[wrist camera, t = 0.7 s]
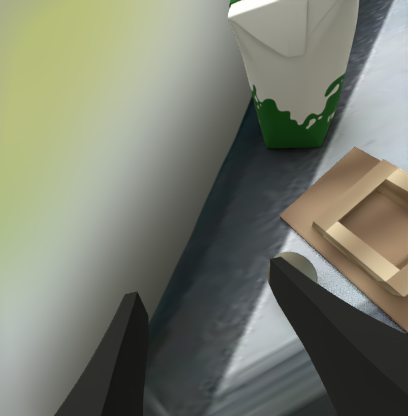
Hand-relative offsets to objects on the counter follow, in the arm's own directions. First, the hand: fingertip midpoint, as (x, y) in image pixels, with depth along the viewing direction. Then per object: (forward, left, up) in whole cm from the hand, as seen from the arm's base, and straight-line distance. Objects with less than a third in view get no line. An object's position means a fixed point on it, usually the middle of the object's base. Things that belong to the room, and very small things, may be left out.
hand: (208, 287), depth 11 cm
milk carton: (+12, -18, -17) cm, 28 cm away
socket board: (-4, -13, -16) cm, 22 cm away
